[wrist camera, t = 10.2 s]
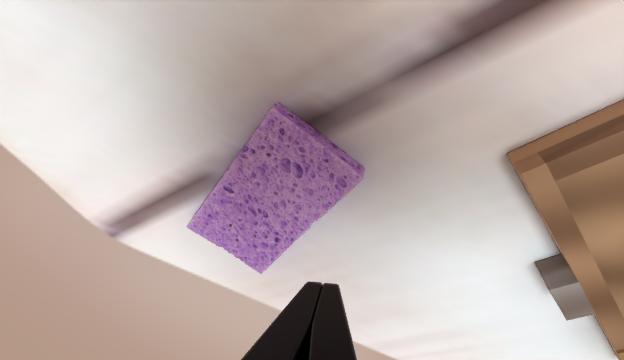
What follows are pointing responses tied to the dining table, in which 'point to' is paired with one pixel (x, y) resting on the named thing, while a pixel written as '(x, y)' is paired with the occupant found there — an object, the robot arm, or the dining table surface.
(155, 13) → the dining table surface
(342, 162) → the sponges
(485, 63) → the dining table surface
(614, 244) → the wooden tray
